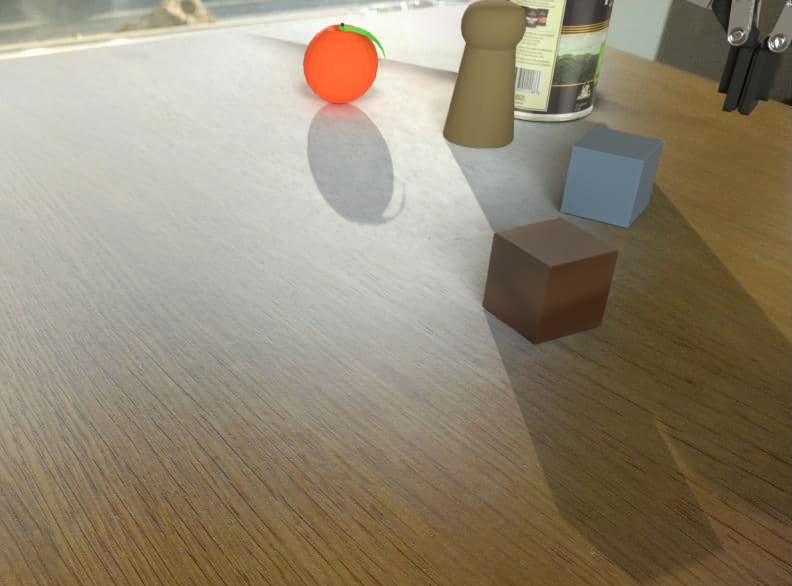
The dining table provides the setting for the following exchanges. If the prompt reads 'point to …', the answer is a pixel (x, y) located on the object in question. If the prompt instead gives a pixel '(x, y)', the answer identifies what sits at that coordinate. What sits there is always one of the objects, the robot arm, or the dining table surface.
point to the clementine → (341, 63)
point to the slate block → (611, 176)
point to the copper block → (549, 279)
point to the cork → (486, 75)
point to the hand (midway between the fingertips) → (739, 107)
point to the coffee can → (560, 58)
